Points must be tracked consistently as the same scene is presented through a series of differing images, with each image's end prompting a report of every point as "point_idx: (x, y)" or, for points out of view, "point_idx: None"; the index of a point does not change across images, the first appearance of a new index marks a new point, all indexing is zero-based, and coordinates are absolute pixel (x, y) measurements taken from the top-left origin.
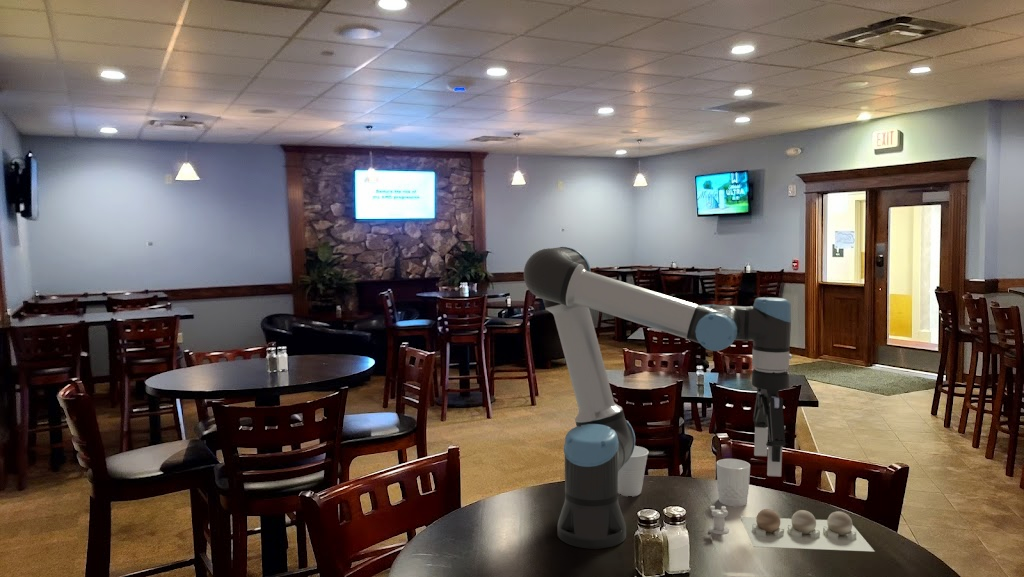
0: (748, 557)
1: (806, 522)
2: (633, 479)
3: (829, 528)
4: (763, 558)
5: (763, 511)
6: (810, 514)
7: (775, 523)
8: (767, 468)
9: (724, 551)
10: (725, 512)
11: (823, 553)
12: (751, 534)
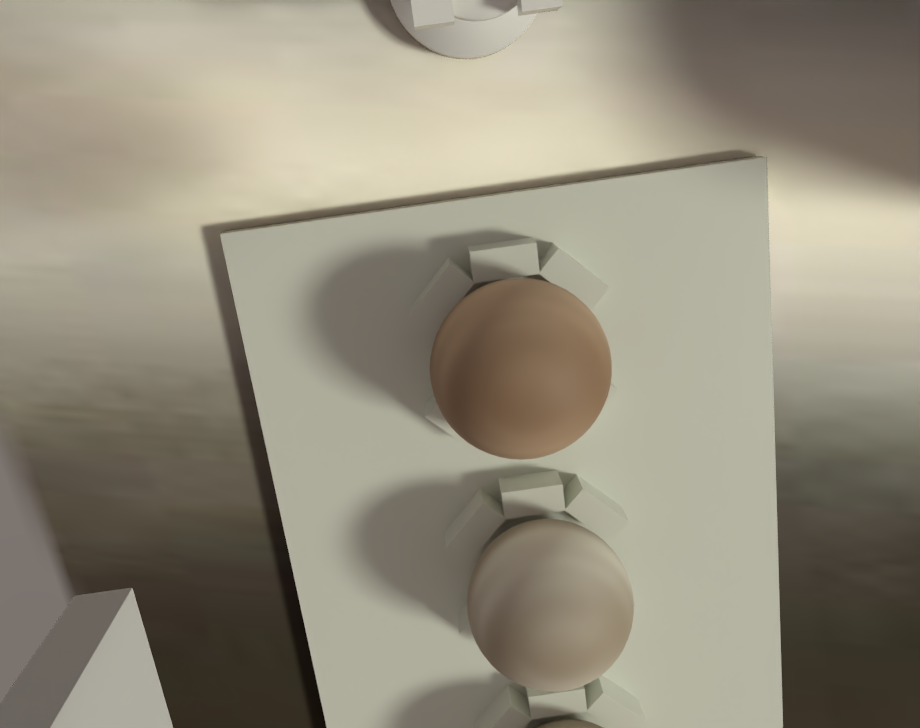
0: (74, 186)
1: (475, 628)
2: None
3: (550, 723)
4: (95, 285)
5: (510, 353)
6: (534, 683)
7: (445, 418)
8: (72, 660)
9: (118, 12)
10: (413, 2)
11: (294, 632)
12: (434, 226)
